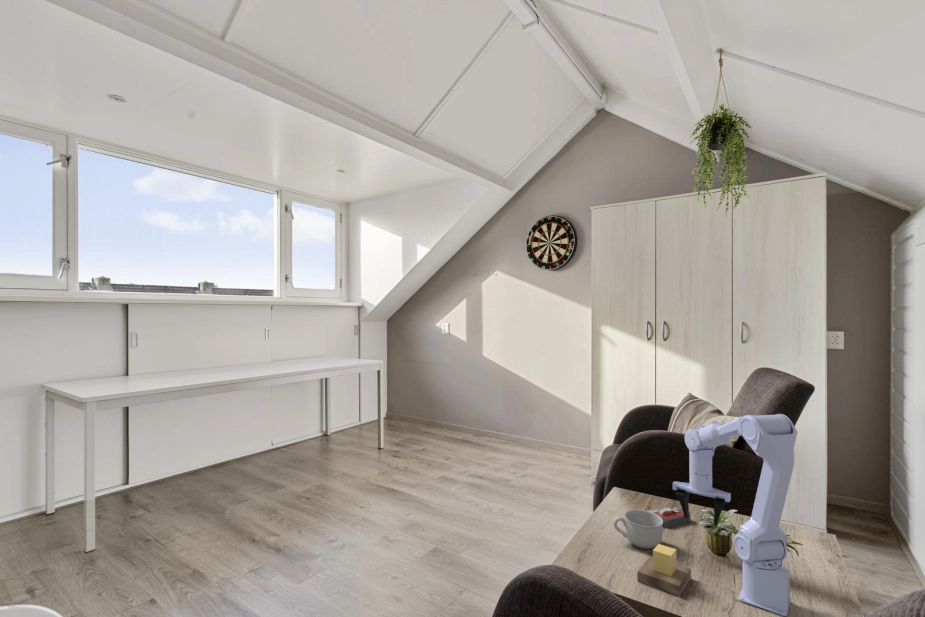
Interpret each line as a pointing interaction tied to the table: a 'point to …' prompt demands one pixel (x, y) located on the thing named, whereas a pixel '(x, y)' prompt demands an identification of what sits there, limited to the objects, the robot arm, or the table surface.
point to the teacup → (641, 528)
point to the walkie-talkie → (672, 516)
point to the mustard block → (664, 559)
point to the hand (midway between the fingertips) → (701, 520)
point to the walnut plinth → (664, 578)
